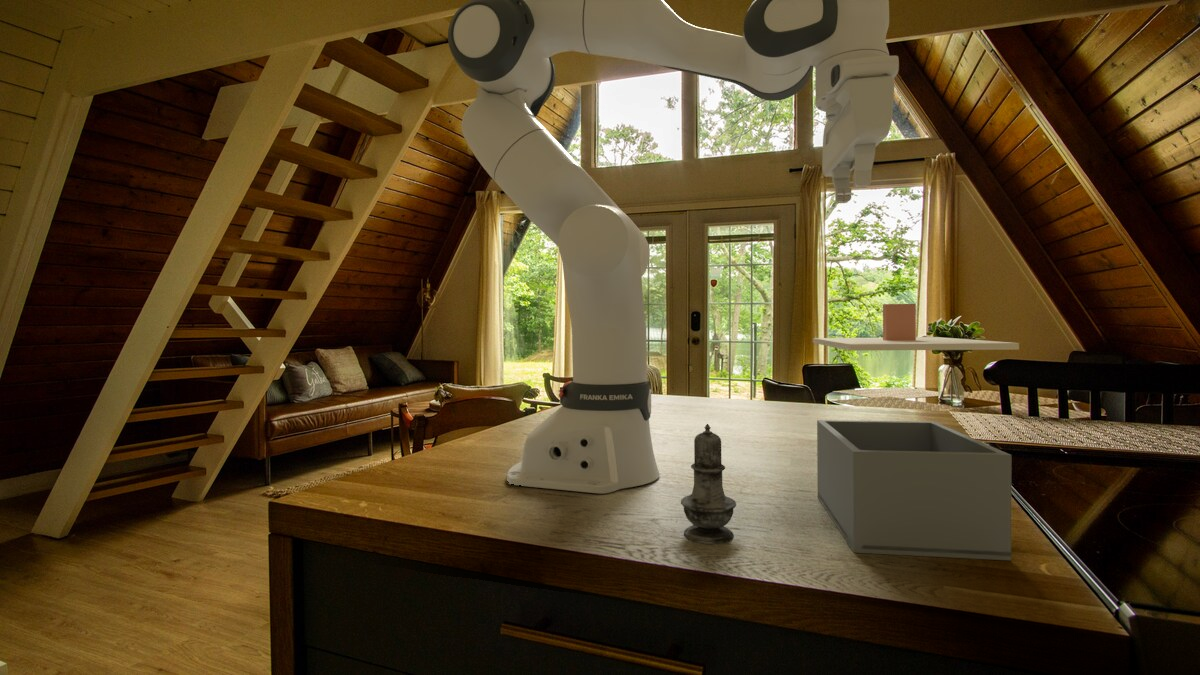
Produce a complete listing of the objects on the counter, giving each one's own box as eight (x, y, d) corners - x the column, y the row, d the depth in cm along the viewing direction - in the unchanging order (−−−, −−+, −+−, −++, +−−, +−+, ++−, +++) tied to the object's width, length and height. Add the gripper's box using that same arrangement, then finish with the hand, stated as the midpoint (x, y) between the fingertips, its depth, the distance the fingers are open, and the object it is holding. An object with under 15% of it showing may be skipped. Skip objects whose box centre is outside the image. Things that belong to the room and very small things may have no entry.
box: (853, 552, 57) (853, 451, 57) (817, 497, 75) (817, 420, 75) (1011, 560, 55) (1011, 455, 54) (935, 501, 72) (935, 421, 72)
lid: (849, 350, 56) (849, 303, 56) (812, 342, 75) (812, 307, 75) (1019, 349, 54) (1019, 299, 54) (937, 341, 72) (937, 304, 72)
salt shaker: (725, 549, 58) (724, 430, 58) (672, 538, 62) (670, 426, 61) (744, 531, 63) (743, 421, 63) (693, 521, 67) (692, 417, 66)
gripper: (811, 117, 86) (811, 211, 87) (844, 55, 66) (845, 177, 66) (856, 114, 85) (856, 208, 85) (904, 50, 65) (904, 174, 65)
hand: (852, 195), depth 76 cm, fingers open, 8 cm apart
